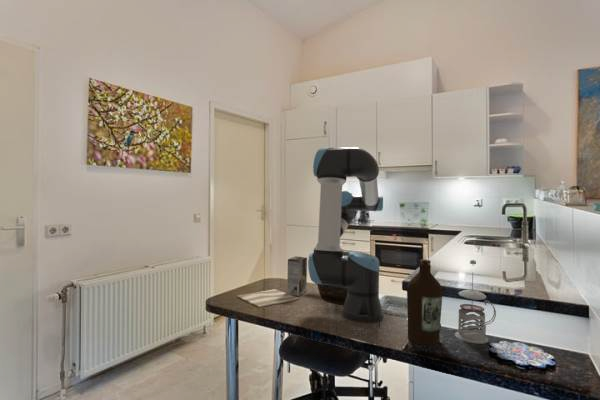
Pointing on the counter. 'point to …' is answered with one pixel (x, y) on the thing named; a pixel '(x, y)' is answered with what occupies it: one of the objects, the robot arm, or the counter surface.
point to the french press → (472, 317)
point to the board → (267, 298)
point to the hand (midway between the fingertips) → (312, 263)
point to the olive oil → (424, 306)
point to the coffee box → (297, 276)
